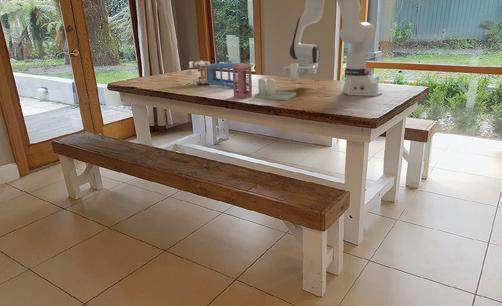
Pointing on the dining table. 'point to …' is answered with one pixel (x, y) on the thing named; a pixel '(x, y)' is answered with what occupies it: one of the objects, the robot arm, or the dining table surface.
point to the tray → (277, 95)
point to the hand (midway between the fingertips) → (293, 71)
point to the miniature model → (242, 80)
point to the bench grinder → (212, 73)
